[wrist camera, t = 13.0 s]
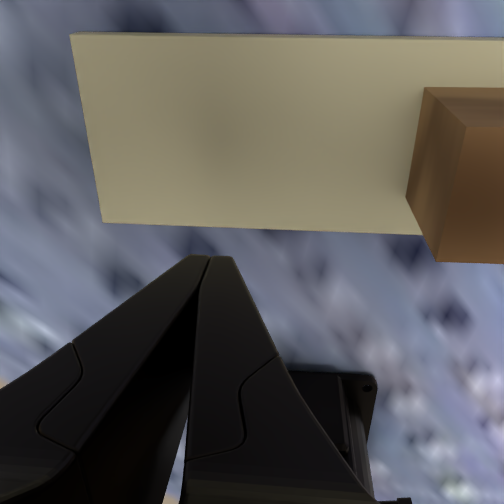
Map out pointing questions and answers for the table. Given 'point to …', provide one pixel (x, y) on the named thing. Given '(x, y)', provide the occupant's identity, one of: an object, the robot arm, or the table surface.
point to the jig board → (264, 124)
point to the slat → (460, 174)
